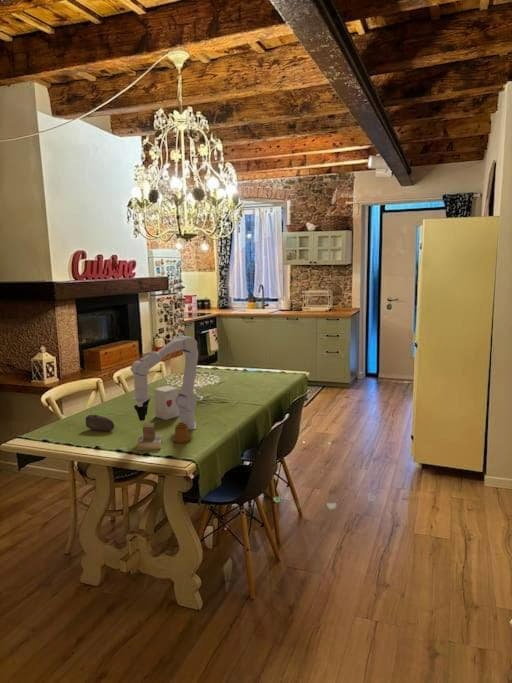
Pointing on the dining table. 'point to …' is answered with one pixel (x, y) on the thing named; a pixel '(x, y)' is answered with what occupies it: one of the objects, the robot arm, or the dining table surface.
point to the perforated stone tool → (99, 423)
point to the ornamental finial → (181, 433)
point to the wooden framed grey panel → (150, 443)
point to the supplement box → (166, 402)
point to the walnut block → (149, 431)
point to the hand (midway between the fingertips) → (143, 417)
